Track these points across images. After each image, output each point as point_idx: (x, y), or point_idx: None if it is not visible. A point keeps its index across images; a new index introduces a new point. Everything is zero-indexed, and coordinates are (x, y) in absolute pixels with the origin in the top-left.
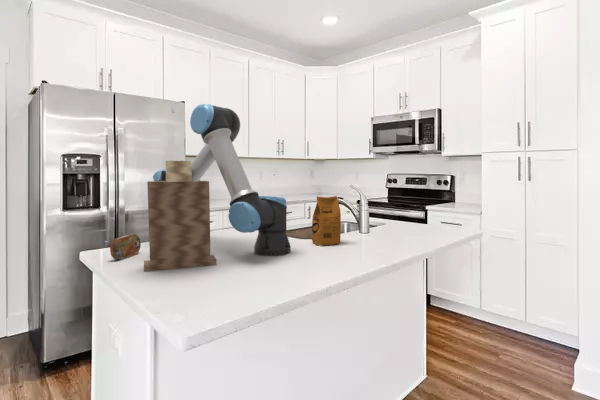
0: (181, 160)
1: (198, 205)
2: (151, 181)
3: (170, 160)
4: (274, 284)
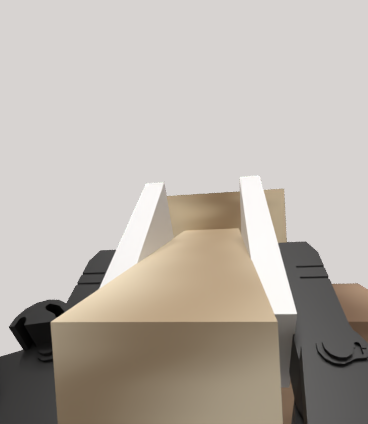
0: (159, 183)
1: None
2: (365, 302)
3: (257, 177)
4: None
